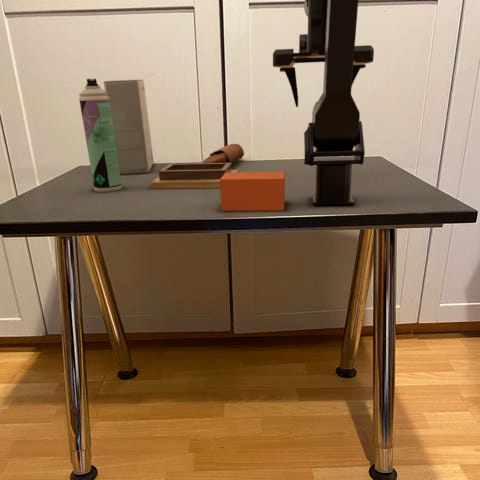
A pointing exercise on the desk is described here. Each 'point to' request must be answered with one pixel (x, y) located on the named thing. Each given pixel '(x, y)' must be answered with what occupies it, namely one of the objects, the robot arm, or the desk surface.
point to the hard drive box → (130, 125)
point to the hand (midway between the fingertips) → (320, 106)
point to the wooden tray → (192, 175)
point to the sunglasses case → (226, 154)
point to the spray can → (100, 137)
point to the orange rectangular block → (252, 191)
